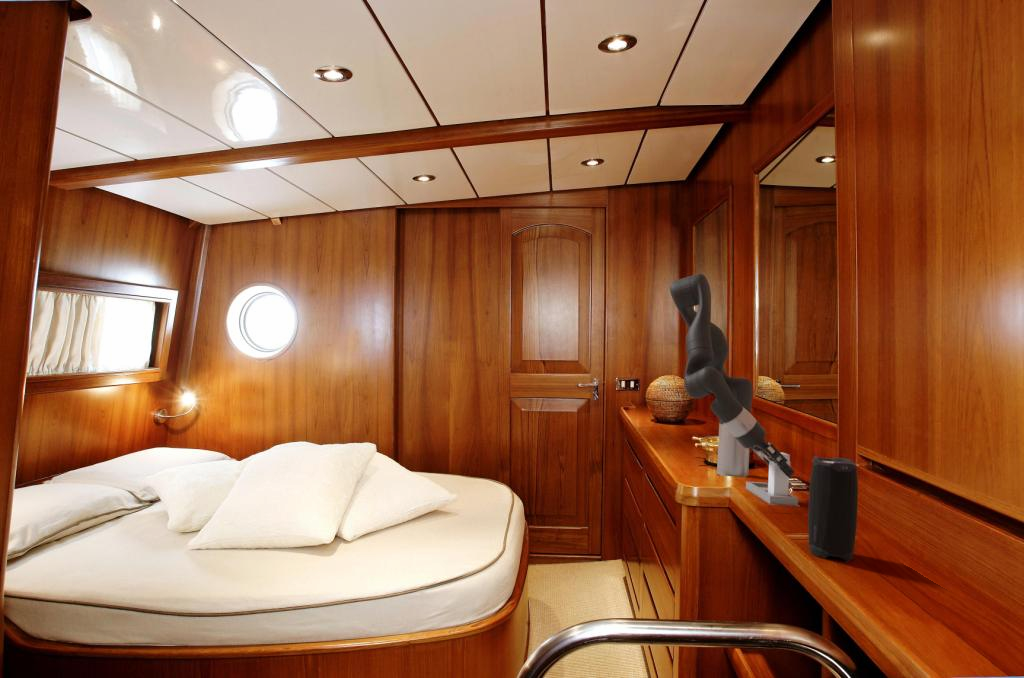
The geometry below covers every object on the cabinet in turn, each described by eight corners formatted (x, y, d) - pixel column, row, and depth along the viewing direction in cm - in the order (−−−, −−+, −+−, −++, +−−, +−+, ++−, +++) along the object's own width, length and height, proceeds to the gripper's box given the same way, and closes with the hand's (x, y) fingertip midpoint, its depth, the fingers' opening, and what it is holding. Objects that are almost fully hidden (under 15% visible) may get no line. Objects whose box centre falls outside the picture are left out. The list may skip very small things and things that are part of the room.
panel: (770, 492, 164) (771, 482, 164) (800, 510, 146) (800, 498, 146) (743, 490, 164) (744, 480, 164) (769, 508, 146) (770, 496, 146)
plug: (784, 499, 152) (786, 452, 152) (790, 503, 148) (792, 455, 149) (767, 498, 152) (769, 451, 153) (773, 502, 149) (775, 454, 149)
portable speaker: (839, 548, 117) (844, 456, 117) (864, 565, 107) (869, 465, 108) (798, 545, 117) (802, 453, 118) (819, 561, 108) (824, 462, 108)
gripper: (765, 421, 144) (807, 467, 143) (744, 415, 158) (782, 457, 158) (743, 440, 144) (785, 486, 144) (724, 432, 158) (762, 474, 158)
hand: (784, 471), depth 151 cm, fingers open, 8 cm apart
